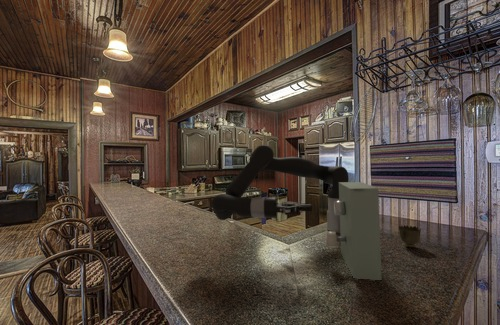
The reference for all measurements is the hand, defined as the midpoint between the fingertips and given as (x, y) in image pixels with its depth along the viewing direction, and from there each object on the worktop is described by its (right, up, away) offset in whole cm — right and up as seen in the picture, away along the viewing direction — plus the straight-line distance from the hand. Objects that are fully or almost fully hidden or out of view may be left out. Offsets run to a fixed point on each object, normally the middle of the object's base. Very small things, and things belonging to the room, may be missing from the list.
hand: (311, 207), depth 83 cm
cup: (+43, -18, +12) cm, 49 cm away
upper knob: (+11, -2, -2) cm, 12 cm away
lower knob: (+9, -13, -2) cm, 16 cm away
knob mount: (+15, -19, -3) cm, 25 cm away
